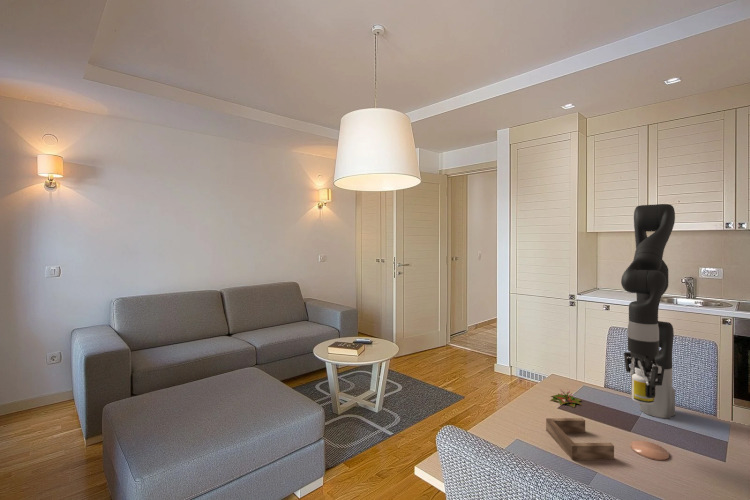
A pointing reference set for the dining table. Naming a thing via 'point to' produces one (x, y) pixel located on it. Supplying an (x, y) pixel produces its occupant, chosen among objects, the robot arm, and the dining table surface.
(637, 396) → the supplement bottle
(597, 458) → the walnut cubby
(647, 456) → the terracotta coaster
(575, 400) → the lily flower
